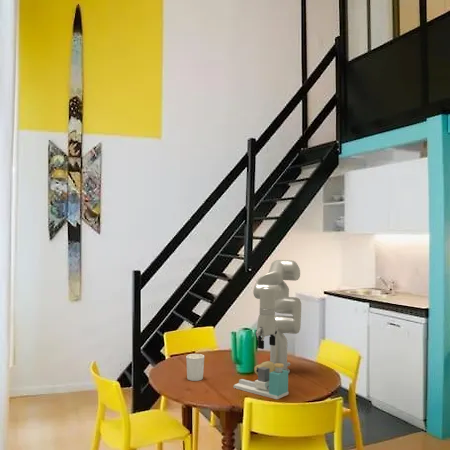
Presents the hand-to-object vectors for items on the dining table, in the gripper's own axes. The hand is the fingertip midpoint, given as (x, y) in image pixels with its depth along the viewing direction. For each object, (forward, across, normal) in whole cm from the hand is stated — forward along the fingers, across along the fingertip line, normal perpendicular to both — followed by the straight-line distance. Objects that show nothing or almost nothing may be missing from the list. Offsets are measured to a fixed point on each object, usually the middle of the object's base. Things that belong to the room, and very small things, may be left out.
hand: (266, 346), depth 246 cm
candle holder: (+23, +7, -41) cm, 47 cm away
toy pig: (+23, -15, -11) cm, 29 cm away
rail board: (+22, 0, -3) cm, 23 cm away
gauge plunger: (+14, 0, +7) cm, 16 cm away
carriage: (+20, 0, -2) cm, 20 cm away
